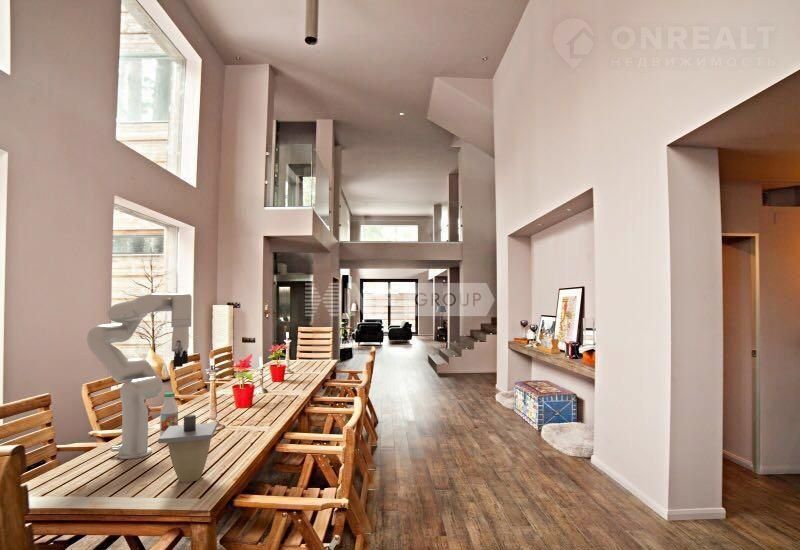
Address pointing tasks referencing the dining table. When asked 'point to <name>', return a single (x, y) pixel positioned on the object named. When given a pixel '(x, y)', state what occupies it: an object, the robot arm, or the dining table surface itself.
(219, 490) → the dining table surface
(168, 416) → the milk bottle
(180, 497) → the dining table surface
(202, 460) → the plant pot
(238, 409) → the dining table surface
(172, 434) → the lid
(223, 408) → the dining table surface
